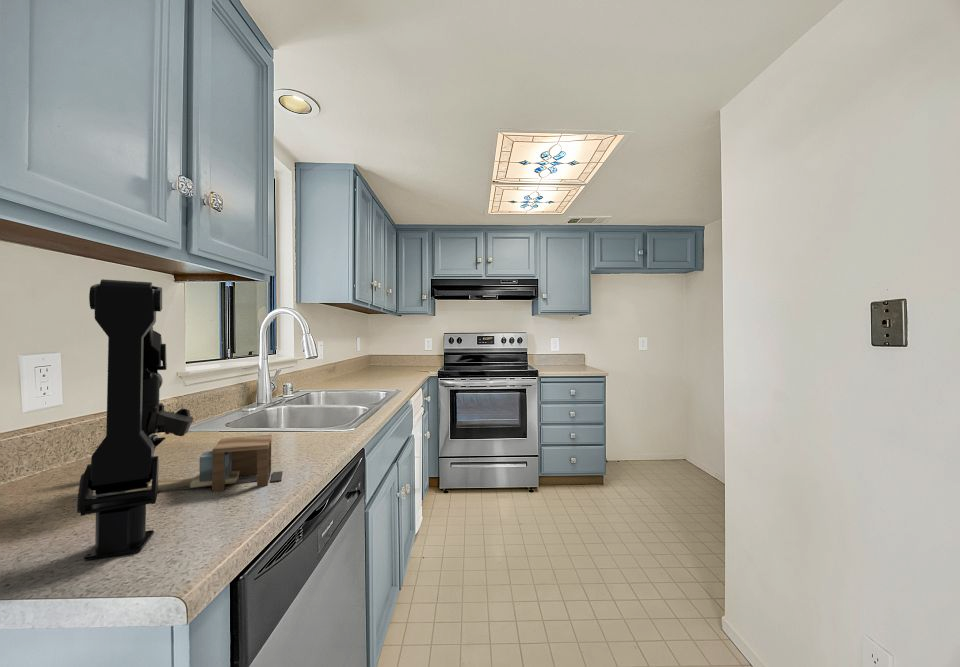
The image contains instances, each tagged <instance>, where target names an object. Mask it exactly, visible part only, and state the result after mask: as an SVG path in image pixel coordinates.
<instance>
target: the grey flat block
mask: <svg viewBox="0 0 960 667" xmlns="http://www.w3.org/2000/svg"><path fill="white" fill-rule="evenodd" d="M283 474H284V472H283V471H282V470H280V471H273V472H272V475H271V478H270V483H277V482H278V483H279V482H282V477H283Z"/></svg>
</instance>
